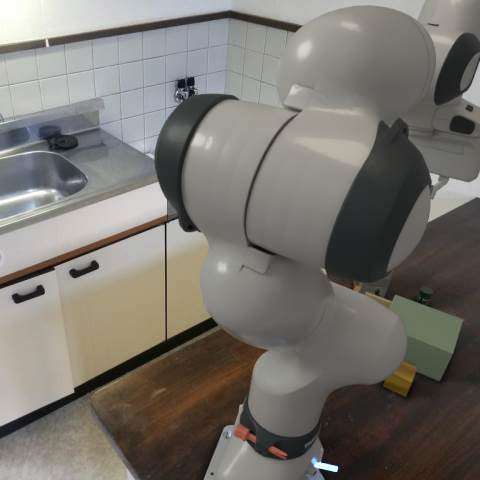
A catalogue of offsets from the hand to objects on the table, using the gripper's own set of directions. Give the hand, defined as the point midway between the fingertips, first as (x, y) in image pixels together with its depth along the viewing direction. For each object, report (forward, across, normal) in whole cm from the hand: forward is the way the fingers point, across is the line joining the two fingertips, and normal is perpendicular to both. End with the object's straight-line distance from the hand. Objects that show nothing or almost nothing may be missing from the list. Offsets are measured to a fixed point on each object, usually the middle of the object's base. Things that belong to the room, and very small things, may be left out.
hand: (398, 188), depth 84 cm
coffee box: (+40, -3, +25) cm, 47 cm away
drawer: (+39, +1, +11) cm, 41 cm away
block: (+40, +11, -1) cm, 42 cm away
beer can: (+40, +9, +28) cm, 50 cm away
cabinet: (+40, +11, +11) cm, 43 cm away
